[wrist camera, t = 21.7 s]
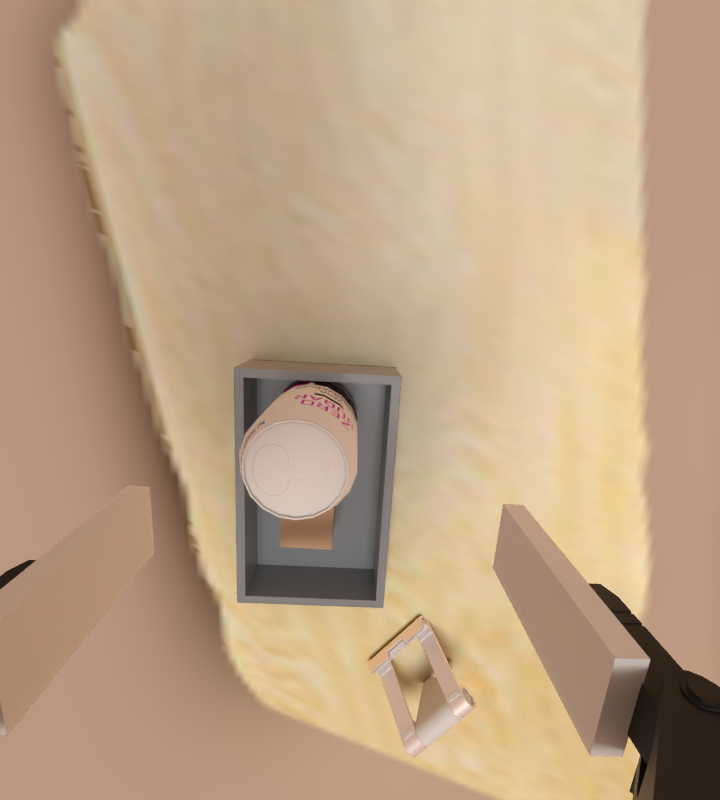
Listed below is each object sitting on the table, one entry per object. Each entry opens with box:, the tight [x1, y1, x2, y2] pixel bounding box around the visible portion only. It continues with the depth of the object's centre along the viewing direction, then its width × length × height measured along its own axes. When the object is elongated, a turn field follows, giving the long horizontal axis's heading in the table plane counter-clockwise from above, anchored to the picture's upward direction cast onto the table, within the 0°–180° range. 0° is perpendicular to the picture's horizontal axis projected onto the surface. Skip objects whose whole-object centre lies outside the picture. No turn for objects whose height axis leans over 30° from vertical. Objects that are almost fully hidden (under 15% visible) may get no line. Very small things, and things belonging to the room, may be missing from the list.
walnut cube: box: [280, 506, 335, 550], centre depth 40 cm, size 5×5×5 cm
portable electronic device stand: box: [369, 616, 476, 757], centre depth 44 cm, size 9×8×8 cm
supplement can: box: [239, 380, 357, 520], centre depth 33 cm, size 8×8×15 cm
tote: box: [234, 360, 401, 608], centre depth 40 cm, size 24×15×6 cm, turn 177°
